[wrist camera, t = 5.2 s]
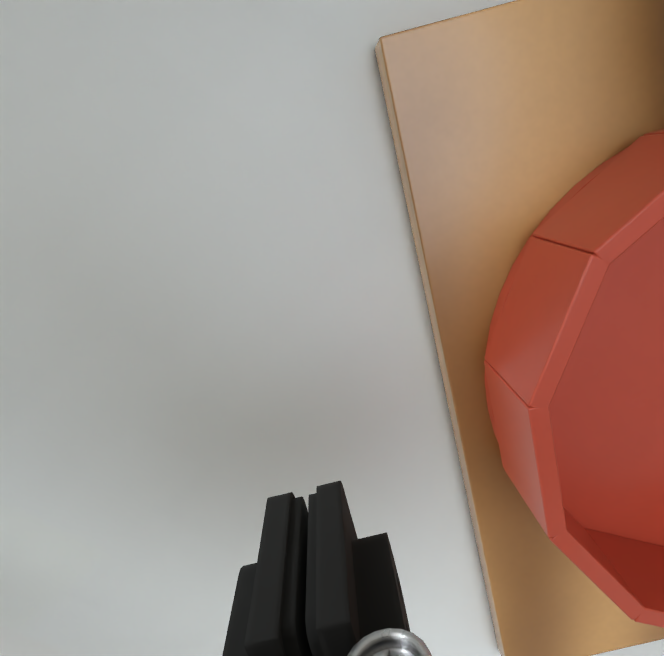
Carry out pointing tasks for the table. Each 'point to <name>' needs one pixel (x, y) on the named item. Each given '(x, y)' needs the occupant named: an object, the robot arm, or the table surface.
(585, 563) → the skillet
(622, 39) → the board
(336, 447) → the table surface
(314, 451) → the table surface
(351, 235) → the table surface
